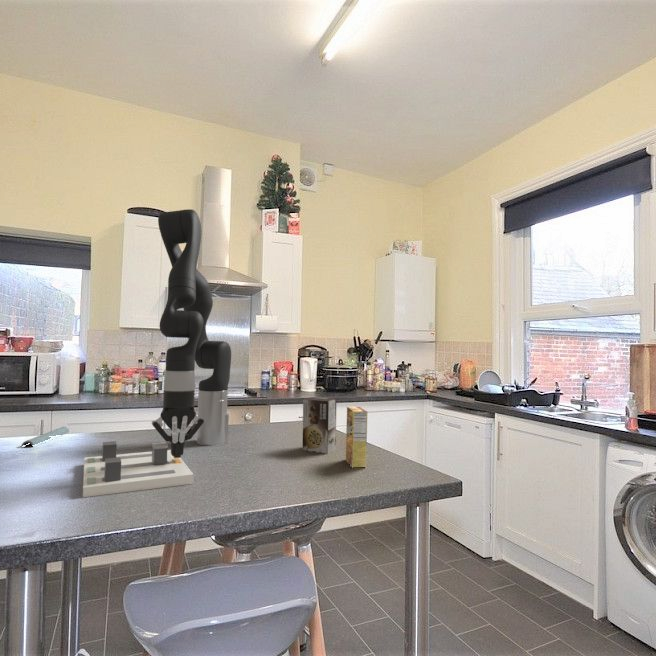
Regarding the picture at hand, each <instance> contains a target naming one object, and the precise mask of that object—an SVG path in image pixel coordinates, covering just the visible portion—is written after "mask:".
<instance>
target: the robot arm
mask: <svg viewBox="0 0 656 656" xmlns="http://www.w3.org/2000/svg"><path fill="white" fill-rule="evenodd" d="M157 221H158V223H157V224H158V228H159V232H160V236H161V238H162V239H161V240H162V242H163V245H164V248H165V250H166V253H167V255H168V259H169V261H170V264H171V270H170V271H169V273H168V280H167V282H168V283H167V300H166V304H165V307H164V309H163V312H162V314H161V317H160V320H159V331H160V333H161V334H162V335H163V336H164V337H166V338H175V339H176V338H178V339H179V338H180V339H186V338H187V342H186V343H184V344H183V345H181V346H180V345H179V346H174V347H170V348H168V349H167V350H166V354H165V371H164V372H165V374H164V378H163V398H162V399H163V402H162V411H161V413H160V415H159V417H158V418H156V419H155V420H153V421H151V425H152V426H153V428H154V429H155V430H156V431H157V433H158V434H159V435H160V436H161V437H162V439H163V440H164V442H165V441H166V442H169V443H170V450H171V455H172V456H173V457H174V458H181V456H183V455H184V447H185V442H186V441H188V440H192V438H193V437H194V435H195V434H196V444H197V445H199V446H200V445H201V446H221V445H223V444H228V443H229V418H230V416H229V413H228V394H229V393H228V392H229V391H228V389H229V387H228V386H229V382H230V375H231V374H230V373H231V365H232V349H231V346H230V344H229V343H228V342H227V341H222V340H221V341H220V340H209V338H208V335H207V329H206V328H207V327H206V326H207V322H208V319H209V318H210V315H211V312H212V309H213V305H214V302H213V301H214V300H213V296H212V292H211V289H210V285H209V282H208V280H207V279H206V278H205V276H204V275H203V274H202V273H201V272H200V271H199V270H198V269H197V267H198V261H199V254H200V250H201V249H200V248H201V241H202V222H201V218H200V216H199V214H198V213H197V212H196V211H195V210H194V209H188V208H187V209H179V210H172V211H171V210H170V211H166V212H165V211H164V212H161V213H160V214H158V218H157ZM180 244H185V246H184V248H183V251H182V250H181V246H180ZM180 309H183V310H180ZM195 363H196V365H197V367H198V368H200V369H204V370H207V369H208V370H212V371H213V372H212V374H211V375H210V376H209V377H208V378H205V379H203V380H200V381H199V382H198V399H197V400H198V401H197V413H196V410H195V398H196V393H195V392H196V375H195V373H196V372H195V368H196V367H195V366H196V365H195ZM191 423H192V425H190V424H191ZM164 424H165V425H166V426H167V428H168V429H169V433H170V434H169V435H168V434H167V433H166V431H165V429H163V426H164ZM189 425H190V426H191V427H189ZM188 427H189V429H188V430H187V428H188ZM181 459H182V458H181Z"/></svg>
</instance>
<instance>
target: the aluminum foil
mask: <svg viewBox="0 0 656 656" xmlns="http://www.w3.org/2000/svg"><path fill="white" fill-rule="evenodd" d="M69 432H70V429H69V428H68V427H67V426H61V427H59V428H55V429H53V430H51V431H47V432H46V433H43V434H41V435H38V436H36V437H33V438H32V437H31V438H30V439H28V440H25V441H23V442H22V443H21V446H22V445H26V444H28V443H30V444H31V445H35V444H38V443H40V442H43V441H45V440H48V439H50V438H51V437H49V436H56V435H61V436H64V435H67V434H69ZM31 445H30V446H31Z"/></svg>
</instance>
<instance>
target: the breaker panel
mask: <svg viewBox="0 0 656 656" xmlns="http://www.w3.org/2000/svg"><path fill="white" fill-rule="evenodd" d="M101 452H102V453H101V454H102V455H97V456H90V457H89V456H88V457H84V461H83V481H82V482H83V483H82V498H88V497H95V496H96V497H98V496H103V495H104V496H105V495H112V494H120V493H128V492H137V491H146V490H154V489H161V488H170V487H179V486H185V485H193V484H194V473H193V472H192V470H191V469H190V468H189V467H188V465H187V464H186V463H185V462H184V460H183V459H182V458H174V457H173V456H172V455H171V449H167V463H164V464H153V462H152V451H145V452H143V451H142V452H133V453H132V452H131V453H123V454H122V453H121V454H120V453H119V454H117V440H116V441H115V440H114V441H102V451H101Z"/></svg>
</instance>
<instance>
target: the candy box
mask: <svg viewBox="0 0 656 656" xmlns="http://www.w3.org/2000/svg"><path fill="white" fill-rule="evenodd" d="M345 430H346V431H345V433H346V436H345V461H346V462H347V464H348V465H349V464H350V465H349V467H352V468H351V469H354V468H353V467H366V465H367V437H368V411H367V410H365V409H363V408H362V407H360V406H347V407H346V429H345Z"/></svg>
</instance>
